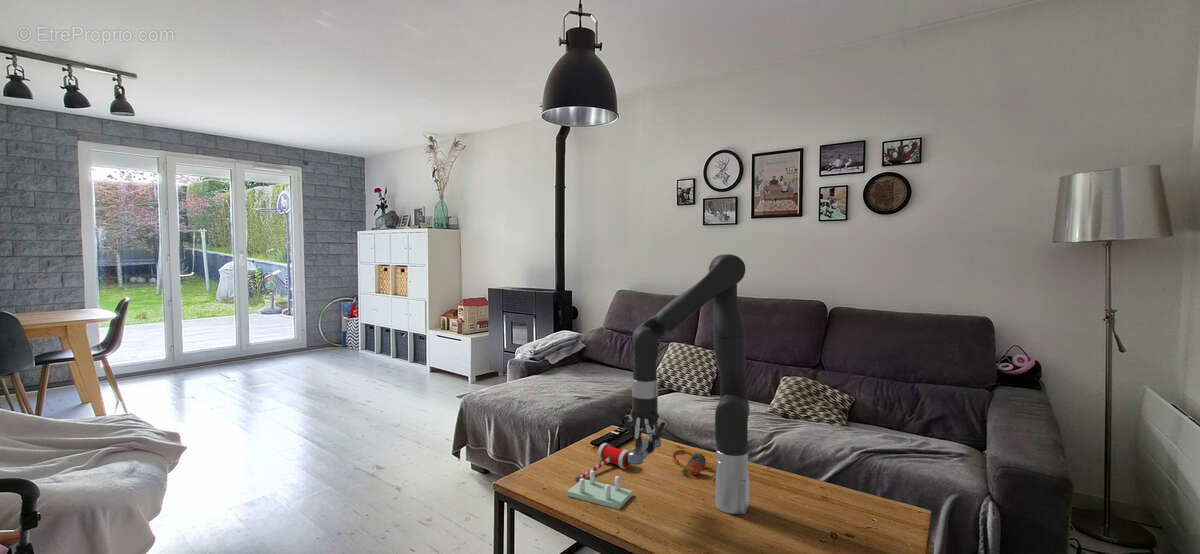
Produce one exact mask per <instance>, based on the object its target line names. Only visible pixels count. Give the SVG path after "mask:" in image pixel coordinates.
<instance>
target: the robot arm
mask: <svg viewBox="0 0 1200 554" xmlns="http://www.w3.org/2000/svg"><path fill="white" fill-rule="evenodd" d="M745 274H746V264H745V262H744V261H743V259H742V258H741V257H739V256H737V255H735V254H728V253H727V254H718V255H717V256H715V257H714V258H713V259H712V260H711V261H710V264H709V266H708V272H707V274H706V275H705V276H704V277H702V278H701V279H700V280H699V281H698V282H697V283H696V284H695V283H694V285H693V286H692V287H690V288H688V289H686V290H685V291H684V292H682V293H681V294H679V295H677V296H675V298H673V299H672V300H671V301H669V303H667V304H666V305H665V306H664V307H663V308H661V309H660V310H659V311H658V312H657V313H656V314H655V315H653V316H651V317H649V318H648V319H646V320H645V321H644V322H642V323H641V324H640V325H638V326H637V327H636V328H635V329H634V331H633V332H632V335H631V340H632V343H633V346H634V348H633V350H634V361H633V364H632V387H631V388H632V389H631V399H632V400H631V401H632V402H631V408H632V411H631V413H630V414H626V415H625V416H623V418H622V419H623V423H624V425H625V427H626V430H627V432H628V435H629V436H630V437H633V438H634V439H635V448H636V447H637V446H638V445H640V444H641V443H642V442H643V437H642V435H643V433H642V432H643V429H644V430H645V431H646V434H647V435H648V438H649V441H648V453H650V454H652V453H653V452H654V451H655V450H656V449H655V440H658V439H659V438H660V437H661V438H662V436H663V433H664V431H665V430H666V427H667V424H668V420H666V419H664V420H663V419H661V418H660V415H659V413H658V410H659V409H658V407H659V405H658V404H659V403H658V402H659V401H658V399H659V398H658V395H659V394H658V393H659V390H658V389H659V388H658V372H657V371H658V370H657V369H658V367H657V359H658V354H659V339H660V338H662V337H663V336H664V335H667V334H668V333H671V332H673V331H675V330H676V329H678V328H679V327H680V326H681V325H682V324H683V323H684V322H686V321H687V320H688V319H689V318H690V317H691V316H692V315H694V314H695V313H697V312H698V310H700V309H701V308H702V307H703V306H705V305H706V304H707V303H709V301H711V300H712V305H713V306H712V307H713V308H712V329H713V330H712V331H713V333H712V334H713V335H712V337H713V338H712V339H713V351H714V357H715V361H716V365H717V368H718V373H719V379H720V380H719V381H720V387H719V388H720V390H719V391H720V392H719V393H720V395H719V401H718V404H717V405H716V407H715V412H714V433H715V434H714V438H715V439H714V440H715V450H716V451H715V466H716V468H715V473H716V475H715V500H714V501H715V507H716V509H718V510H719V511H721V512H722V513H727V514H732V515H737V514H738V515H739V514H741V515H746V513H747V511H748V508H749V506H750V474H749V441H748V440H749V438H748V428H749V427H748V425H749V424H748V422H749V417H750V410H751V409H750V403H749V398H748V393H747V386H746V385H747V384H746V364H747V361H746V360H747V357H746V356H747V353H746V352H747V345H746V344H747V342H746V341H747V340H746V329H745V324H744V320H743V317H742V313H741V310H740V306H739V301H738V283H740V282H741V281H742V280H743V279H744V277H745ZM633 422H634V423H633ZM656 424H657V427H658V429H657V431H656V428H655V425H656ZM634 425H635V426H634ZM655 431H656V432H655ZM655 434H656V435H655ZM650 454H649V455H650Z"/></svg>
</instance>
